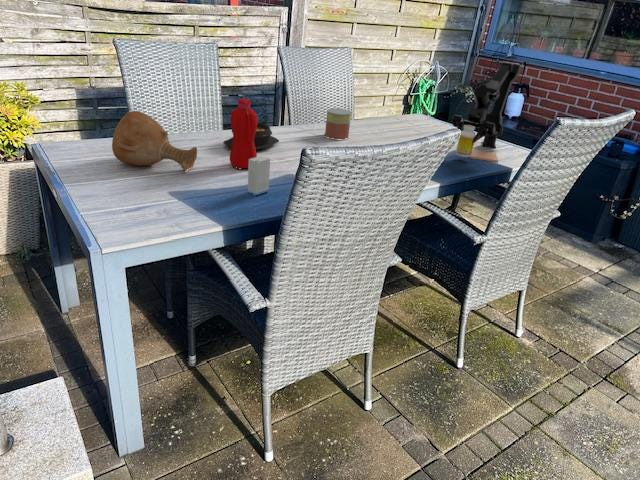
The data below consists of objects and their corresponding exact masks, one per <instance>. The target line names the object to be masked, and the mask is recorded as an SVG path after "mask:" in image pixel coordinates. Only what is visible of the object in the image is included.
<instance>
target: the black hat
mask: <svg viewBox="0 0 640 480" xmlns="http://www.w3.org/2000/svg"><path fill="white" fill-rule="evenodd" d="M231 133H232V134H233V131H232V130H231ZM279 142H280V140H279V138H277V137H275V136H273V131H272V130H271V127H270V126H269V125H267V124H265V123H262V122H258V125H257V128H256V132H255V136H254V144H255V149H256V150H262V148H263V149H266V148H270V147H271V146H274V144H278V143H279ZM232 143H233V136H232V137H230V138H229V139H226V140H224V141H223V144H224V145H225V146H226V147H228V148H231V147H232Z"/></svg>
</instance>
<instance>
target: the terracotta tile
mask: <svg viewBox="0 0 640 480" xmlns="http://www.w3.org/2000/svg"><path fill="white" fill-rule="evenodd" d="M469 158H470V159H474V160H481V161H486V162H494V163H498V162H499V158H498V155H497V152H492V151H486V150H478V149H474V148H473V149H472V154H471V156H470V157H469Z"/></svg>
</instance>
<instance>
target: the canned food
mask: <svg viewBox="0 0 640 480" xmlns="http://www.w3.org/2000/svg"><path fill="white" fill-rule="evenodd" d="M351 116H352V112H351V111H350V110H349V109H343V108H337V107H336V108H334V107H332V108H327V109H326V119H325V120H326V121H325V129H324V130H325V132H324V137H325V136H326V137H329V138H334V139H345V138H348V139H349V134H350V125H351ZM326 137H325V138H326Z"/></svg>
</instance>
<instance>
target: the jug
mask: <svg viewBox="0 0 640 480" xmlns="http://www.w3.org/2000/svg"><path fill="white" fill-rule="evenodd" d="M112 135H113V136H112V141H111V148H112V149H111V150H112V152H113V155H114V157H115V158H116V159H117V160H119V161H120V162H121V163H124V164H128V165H132V164H133V166H140V165H149V166H152V165H155V164H158V163H160V162H162V161H163V160H166V159H167V160H172V161H174V162H175V163H177V164H178V165H180V166H181V169H183V171H186V170H187V169H189V168H191V167H192V168H193V167H194V164H195V162H196V160H197V156H198V147H196V146H193V147H191V148H190V149H182V148H178V147H175V146H173V145H172V144H171V143H170V139H169V132H168V131H166V130H165V129H164V127H163V126H162V125H161V124H160V123H159V122H158V121H157V120H156V119H154V118H152V117H151V116H150V115H147V114H146V113H144V112H142V111H139V110H132V111H129V112H127V113H125V114H124V116H123V117H121V119H120V121H119V122H118V123H117V125H116V127H115V130H114V133H113V134H112ZM192 168H191V169H192Z"/></svg>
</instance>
